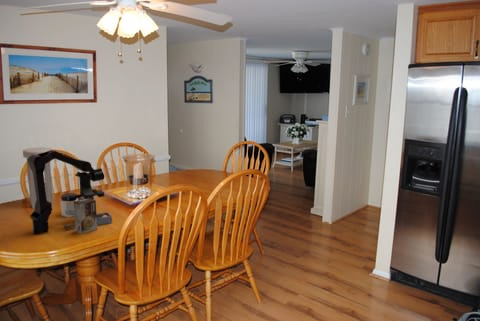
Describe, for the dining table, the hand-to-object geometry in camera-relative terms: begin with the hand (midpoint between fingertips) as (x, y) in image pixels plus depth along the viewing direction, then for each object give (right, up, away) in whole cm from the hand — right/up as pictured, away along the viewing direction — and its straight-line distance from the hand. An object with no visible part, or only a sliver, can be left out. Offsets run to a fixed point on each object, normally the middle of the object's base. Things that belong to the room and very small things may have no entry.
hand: (86, 210), depth 215 cm
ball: (+11, -4, -2) cm, 12 cm away
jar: (-13, -4, +8) cm, 16 cm away
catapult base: (0, -7, -9) cm, 12 cm away
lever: (-2, -1, -7) cm, 7 cm away
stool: (-38, 0, +25) cm, 46 cm away
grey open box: (+10, -6, -3) cm, 12 cm away
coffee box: (+6, -9, -14) cm, 18 cm away
